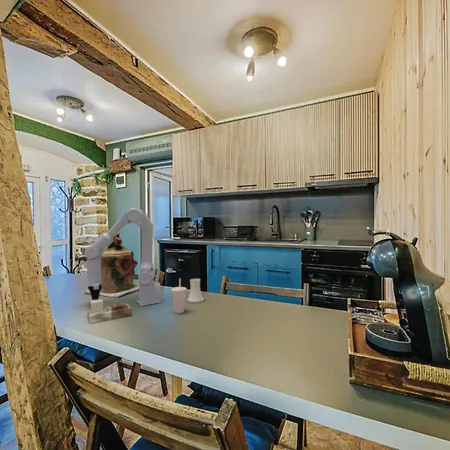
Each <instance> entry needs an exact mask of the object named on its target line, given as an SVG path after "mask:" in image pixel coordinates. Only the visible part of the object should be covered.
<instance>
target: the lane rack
mask: <svg viewBox="0 0 450 450" xmlns="http://www.w3.org/2000/svg"><path fill="white" fill-rule="evenodd" d="M124 304H125V308H126V309H121V310H115V311H112V308H110V306H109V305H108V306H106V311H105V312H104V311H103V312H99V313H95V314H93V313H92V311H91V308H89V309H87V310H86V311H87V319H88V324H90V325H92V324H95V323H97V324H98V323H101V322H107V321H112V320H117V319H122V318H127V317H132V316H133V308H132V307H131V306H130V305H129V304H128V303H127V302H126V303H124Z"/></svg>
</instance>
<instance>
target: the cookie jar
mask: <svg viewBox="0 0 450 450" xmlns="http://www.w3.org/2000/svg"><path fill="white" fill-rule="evenodd" d="M120 234H121V232H120V231H119V232H118V233H117V234H116V235H115V236H114V237H113V242H112V243H111V244H110V245H109V246H108V247H107V248H106V249H105V250H104V251H103V253H102V255H101V278H102V283H101V284H100V285H102V289H101V291H100V294H99V296H102V297H110V298H114V299H115V298H119V297H121V296H123V295H126V294H127V293H133V292H136V291H139V282H134V280H135V279H136V272H135V269H136V267H137V265H138V263H139V262H138V261H137V260H135V257H134V255H135V254H134V251H133V250H129V249H128V248H127V247H125V246H124V245H123V244H122V243H123V241H122V238H121V237H120ZM84 293H85V294H89V295H91V293H90V291H89V289H88V288H87V289H85V290H84Z"/></svg>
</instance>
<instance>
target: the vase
mask: <svg viewBox="0 0 450 450" xmlns="http://www.w3.org/2000/svg"><path fill="white" fill-rule="evenodd" d="M189 283H190V288H189V289H190V290H189V295H188V298H187V302H188V304H199V303H203V302H204V297H203V295H202V292H201V279H200V278H191V279H190V280H189Z"/></svg>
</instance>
